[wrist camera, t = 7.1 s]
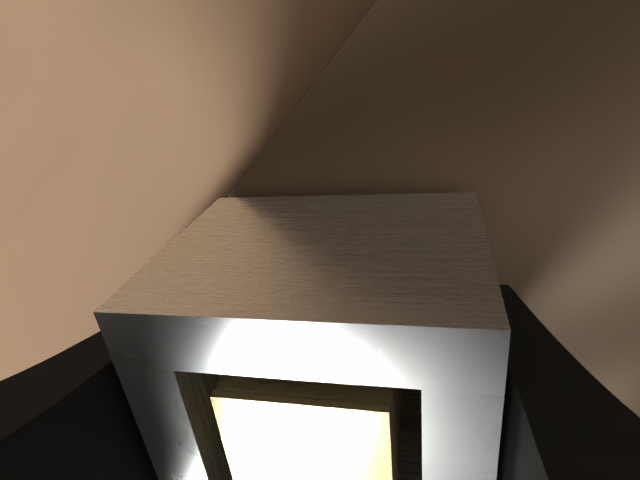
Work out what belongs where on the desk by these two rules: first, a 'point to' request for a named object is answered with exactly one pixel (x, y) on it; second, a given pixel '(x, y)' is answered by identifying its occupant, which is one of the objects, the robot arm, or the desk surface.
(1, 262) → the desk surface
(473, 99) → the tan board
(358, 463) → the pale yellow square peg
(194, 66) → the desk surface
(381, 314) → the steel collar
